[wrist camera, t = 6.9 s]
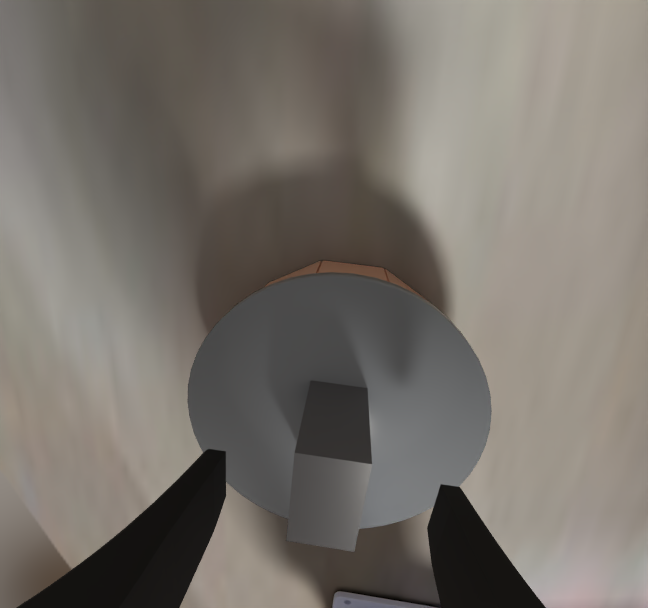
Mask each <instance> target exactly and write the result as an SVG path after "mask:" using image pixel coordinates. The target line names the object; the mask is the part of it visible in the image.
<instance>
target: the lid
mask: <svg viewBox="0 0 648 608" xmlns="http://www.w3.org/2000/svg"><path fill="white" fill-rule="evenodd" d="M188 408H189V416H190V420H191V424H192V427H193V431H194V434H195V436H196V438H197V441H198V443H199V445H200V448H201V449H202V451H203V453H204V452H205V451H206V450H207V449H214V450H220V451H226V482H227V483H228V484H229V485H230V486H231V487H233V488H234V489H235V490H236V491H238V492H239V493H240V494H241V495H243V496H244V497H246V498H247V499H249V500H250V501H252V502H253V503H255V504H256V505H258V506H260V507H262V508H264V509H266V510H268V511H269V512H272V513H274V514H276V515H279V516H281V517H284V518H286V519H288V528H287V538H286V541H290V542H296V543H303V544H309V545H315V546H321V547H327V548H333V549H340V550H346V551H352V552H354V551H355V546H356V541H357V536H358V532H359V529H361V528H372V527H378V526H384V525H388V524H392V523H396V522H399V521H403V520H405V519H408V518H410V517H413V516H416V515H418V514H420V513H422V512H424V511H426V510H428V509H430V508H432V507H433V506H434V505H435V501H436V498H437V495H438V491H439V488H440V485H441V484H443V485H450V486H457V487H459V486H460V485H461V484H462V483H463V481H464V480H465V479H466V478H467V477H468V476H469V474H470V473H471V472H472V470H473V468H474V467H475V465H476V464H477V462H478V461H479V459H480V456H481V454H482V452H483V450H484V447H485V445H486V442H487V438H488V434H489V430H490V422H491V398H490V391H489V387H488V383H487V379H486V376H485V373H484V371H483V368H482V366H481V364H480V361H479V359H478V357H477V356H476V354H475V353H474V351H473V350H472V348H471V346H470V345H469V343H468V342H467V340H466V339H465V337H464V336H463V334H462V333H461V332H460V331H459V330H458V328H457V327H456V326H455V325H454V324H453V323H452V321H451V320H450V319H449V318H448V317H447V316H445V315H444V314H443V313H442V312H441V311H440V310H439V309H437V308H436V307H435V306H434V305H433V304H431V303H430V302H428V301H426V300H425V299H423V298H422V297H420V296H419V295H417V294H416V293H414V292H411V291H409V290H407V289H405V288H403V287H401V286H399V285H397V284H394V283H391V282H388V281H385V280H381V279H378V278H375V277H370V276H365V275H359V274H354V273H337V272H327V273H313V274H306V275H301V276H296V277H291V278H288V279H285V280H282V281H279V282H276V283H273V284H270V285H268V286H266V287H264V288H262V289H260V290H258V291H256V292H254V293H252V294H251V295H249V296H248V297H247V298H245V299H244V300H242V301H241V302H239V303H238V304H237V305H236V306H234V307H233V308H232V309H231V310H230V311H229V312H228V313H227V314H226V315H225V316H224V317H223V318H222V319H221V320H220V321H219V322H218V323H217V324H216V325H215V327H214V328H213V329H212V330H211V332H210V333H209V334H208V336H207V337H206V338H205V340H204V342H203V343H202V345H201V347H200V349H199V351H198V352H197V355H196V357H195V360H194V363H193V366H192V369H191V373H190V378H189V384H188Z"/></svg>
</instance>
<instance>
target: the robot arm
mask: <svg viewBox="0 0 648 608" xmlns="http://www.w3.org/2000/svg"><path fill="white" fill-rule="evenodd" d="M225 497H226V451H220V450H214V449H207V450H206V451H205V452H204V453H203V454H202V455H201V456H200V457H199V458H198V459H197V460H196V461H195V462H194V463H193V464H192V465H191V466H190V467H189V469H188V470H187V471H186V472H185V473H184V474H183V475H182V476H181V477H180V478H179V479H178V480H177V481H176V482H175V483H174V484H173V485H172V486H171V487H169V488H168V489H167V490H166V491H165V492H164V493H163V494H162V495H161V496H160V497H159V498H158V499H157V500H156V501H155V502H154V503H153V504H152V505H151V506H149V507H148V508H147V509H146V510H145V511H144V512H143V513H142V514H140V515H139V516H138V517H137V518H136V519H135V520H134V521H132V522H131V523H130V524H129V525H128V526H127V527H126V528H124V529H123V530H122V531H121V532H120V533H118V534H117V535H116V536H115V537H114V538H112V539H111V540H110V541H109V542H107V543H106V544H105V545H104V546H102V547H101V548H100V549H99V550H97V551H96V552H95V553H93V554H92V555H91V556H90V557H88V558H87V559H86V560H84V561H83V562H82V563H80V564H79V565H77V566H76V567H75V568H73V569H72V570H71V571H69V572H68V573H67V574H65V575H64V576H62V577H61V578H60V579H59V580H57V581H56V582H54V583H53V584H51V585H50V586H48V587H47V588H45V589H44V590H43V591H41V592H40V593H38V594H37V595H35V596H34V597H32V598H31V599H29V600H28V601H26V602H24V603H23V604H21V605H20V606H18V607H17V608H179V607H180V605H181V603H182V601H183V598H184V596H185V594H186V592H187V589H188V587H189V585H190V583H191V581H192V578H193V576H194V574H195V572H196V570H197V567H198V565H199V563H200V561H201V559H202V556H203V554H204V552H205V550H206V547H207V545H208V543H209V541H210V539H211V536H212V534H213V532H214V529H215V527H216V524H217V521H218V518H219V515H220V512H221V509H222V506H223V503H224V500H225ZM427 529H428V537H429V546H430V554H431V561H432V567H433V572H434V576H435V581H436V585H437V590H438V594H439V598H440V603H441V607H442V608H546V607H545V606H544V605H543V604H542V602H541V601H540V600H539V599H538V597H537V596H536V595H535V593H534V592H533V591H532V589H531V588H530V587H529V586H528V584H527V583H526V582H525V580H524V579H523V578H522V576H521V575H520V574H519V572H518V571H517V570H516V568H515V567H514V566H513V564H512V563H511V561H510V560H509V559H508V557H507V556H506V554H505V553H504V552H503V550H502V549H501V547H500V546H499V545H498V543H497V542H496V540H495V539H494V537H493V536H492V534H491V533H490V532H489V530H488V529H487V527H486V526H485V524H484V523H483V521H482V520H481V518H480V517H479V515H478V514H477V512H476V511H475V509H474V508H473V506H472V505H471V503H470V502H469V500H468V499H467V497H466V495H465V494H464V492H463V491H462V490H461V488H460V487H457V486H450V485H443V484H441V485H440V488H439V491H438V495H437V498H436V501H435V505H434V508H433V511H432V514H431V518H430V521H429V524H428V527H427ZM332 608H438V607H432V606H426V605H420V604H414V603H408V602H402V601H396V600H390V599H384V598H378V597H372V596H366V595H360V594H355V593H349V592H343V591H338V592H336V593H335V594H334V599H333V604H332Z"/></svg>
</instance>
